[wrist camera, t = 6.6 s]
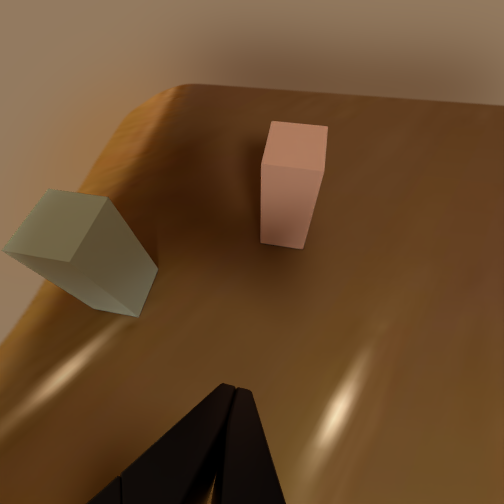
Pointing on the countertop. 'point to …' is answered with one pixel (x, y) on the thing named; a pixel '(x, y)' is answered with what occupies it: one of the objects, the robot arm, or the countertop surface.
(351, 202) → the countertop surface
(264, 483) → the robot arm
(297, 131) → the terracotta block
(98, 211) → the sage block
